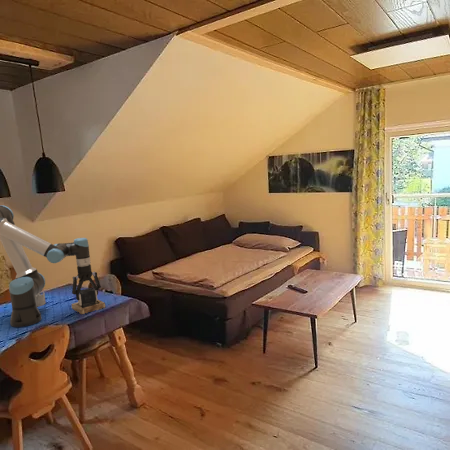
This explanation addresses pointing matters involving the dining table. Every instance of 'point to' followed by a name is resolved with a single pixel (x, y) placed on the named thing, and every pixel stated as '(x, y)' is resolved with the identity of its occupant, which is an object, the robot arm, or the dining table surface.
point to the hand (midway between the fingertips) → (88, 302)
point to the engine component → (40, 299)
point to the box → (87, 297)
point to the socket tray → (88, 309)
